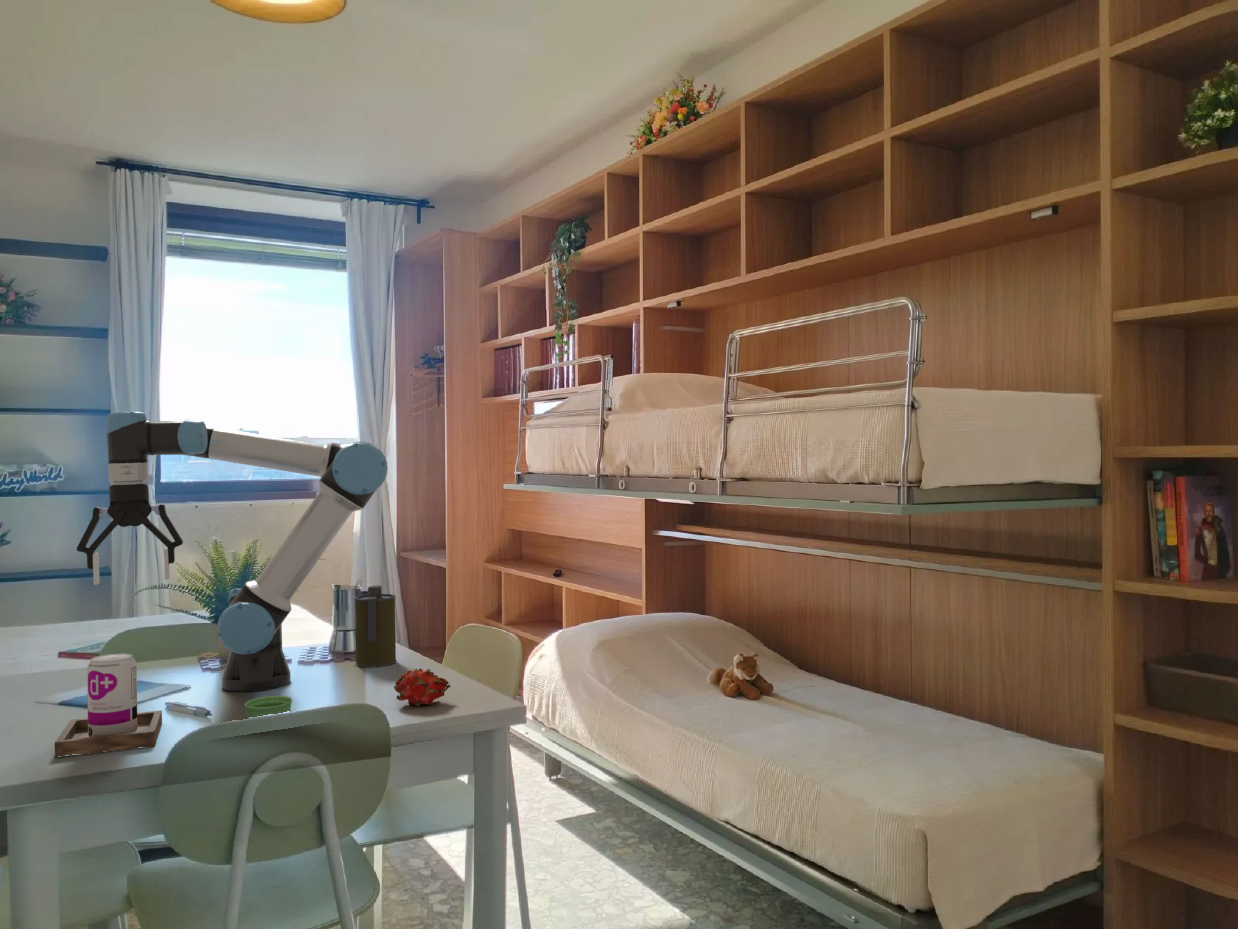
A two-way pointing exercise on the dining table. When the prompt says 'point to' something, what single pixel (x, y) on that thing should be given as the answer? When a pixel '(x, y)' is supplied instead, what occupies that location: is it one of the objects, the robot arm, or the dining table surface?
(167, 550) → the robot arm
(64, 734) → the walnut tray
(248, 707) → the ramekin
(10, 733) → the dining table surface
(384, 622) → the canister
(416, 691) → the dragon fruit
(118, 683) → the supplement can
